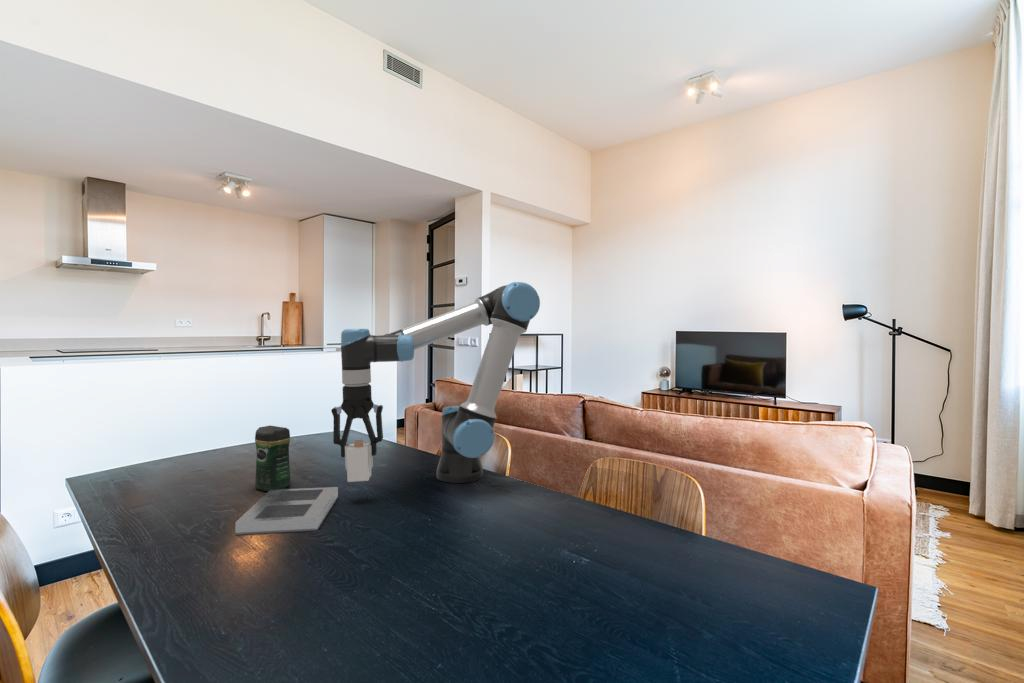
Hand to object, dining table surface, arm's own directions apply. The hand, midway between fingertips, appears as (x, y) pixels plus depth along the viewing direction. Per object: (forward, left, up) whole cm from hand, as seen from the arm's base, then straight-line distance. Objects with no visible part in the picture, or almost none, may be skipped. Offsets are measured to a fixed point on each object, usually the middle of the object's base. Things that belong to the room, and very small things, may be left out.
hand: (359, 467), depth 129 cm
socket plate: (+16, +7, -9) cm, 20 cm away
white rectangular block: (0, 0, -3) cm, 3 cm away
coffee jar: (+28, -15, -10) cm, 33 cm away
